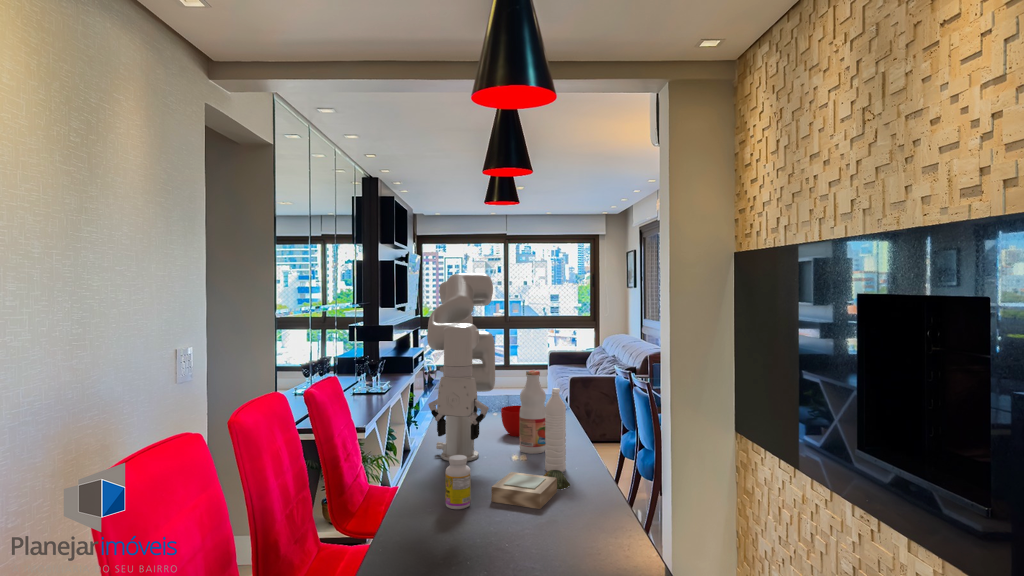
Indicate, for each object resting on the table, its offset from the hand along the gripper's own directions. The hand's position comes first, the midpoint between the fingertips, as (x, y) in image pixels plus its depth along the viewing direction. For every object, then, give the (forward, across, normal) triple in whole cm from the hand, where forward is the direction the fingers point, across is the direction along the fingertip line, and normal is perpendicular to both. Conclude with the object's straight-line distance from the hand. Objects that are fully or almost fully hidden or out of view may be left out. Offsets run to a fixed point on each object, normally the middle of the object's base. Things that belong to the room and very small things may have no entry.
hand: (458, 437), depth 159 cm
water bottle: (+18, +14, +41) cm, 46 cm away
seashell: (+18, +18, +27) cm, 37 cm away
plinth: (+18, +14, +14) cm, 27 cm away
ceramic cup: (+17, -13, +79) cm, 82 cm away
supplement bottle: (+18, 0, +1) cm, 19 cm away
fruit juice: (+18, 0, +58) cm, 60 cm away
